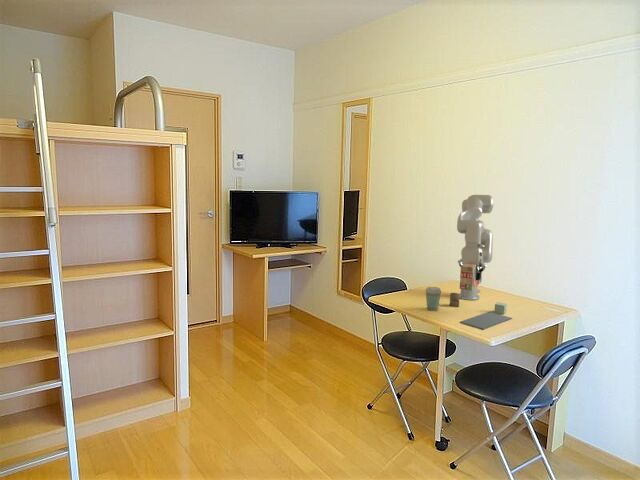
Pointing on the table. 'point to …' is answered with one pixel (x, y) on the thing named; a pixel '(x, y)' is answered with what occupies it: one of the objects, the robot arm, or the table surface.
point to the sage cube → (500, 308)
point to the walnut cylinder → (454, 299)
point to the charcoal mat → (485, 320)
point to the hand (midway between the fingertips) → (471, 278)
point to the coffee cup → (433, 298)
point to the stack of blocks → (469, 277)
